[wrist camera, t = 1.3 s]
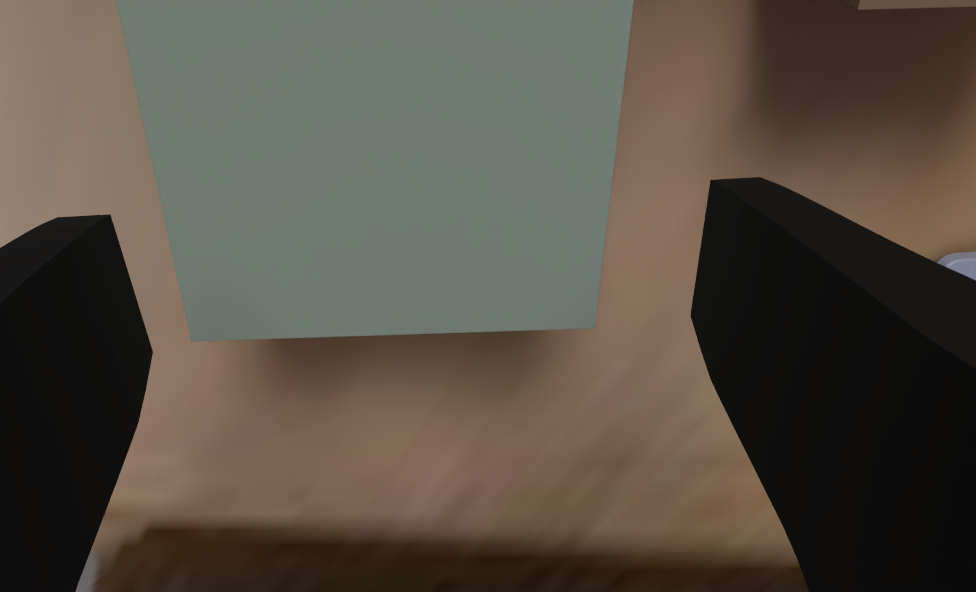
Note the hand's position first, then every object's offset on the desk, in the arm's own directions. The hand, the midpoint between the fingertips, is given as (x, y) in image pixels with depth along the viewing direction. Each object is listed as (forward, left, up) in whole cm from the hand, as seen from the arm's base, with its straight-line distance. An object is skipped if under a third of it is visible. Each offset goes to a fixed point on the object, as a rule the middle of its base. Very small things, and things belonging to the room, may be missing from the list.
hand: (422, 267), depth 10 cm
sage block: (-1, 0, -10) cm, 10 cm away
